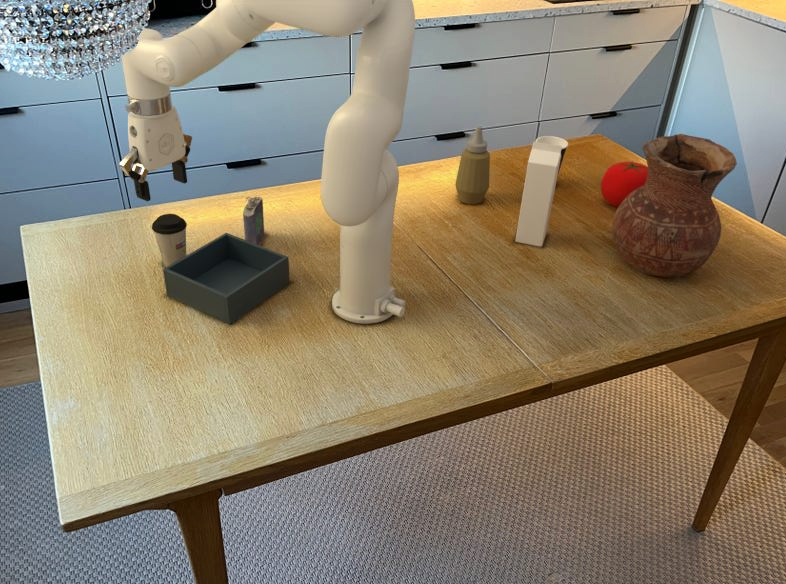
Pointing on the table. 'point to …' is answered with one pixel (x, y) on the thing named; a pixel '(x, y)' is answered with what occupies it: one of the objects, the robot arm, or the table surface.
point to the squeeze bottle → (473, 170)
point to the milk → (538, 193)
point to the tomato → (622, 181)
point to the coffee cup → (170, 237)
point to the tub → (227, 277)
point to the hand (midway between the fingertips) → (162, 189)
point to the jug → (673, 207)
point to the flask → (254, 220)
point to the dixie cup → (554, 141)
